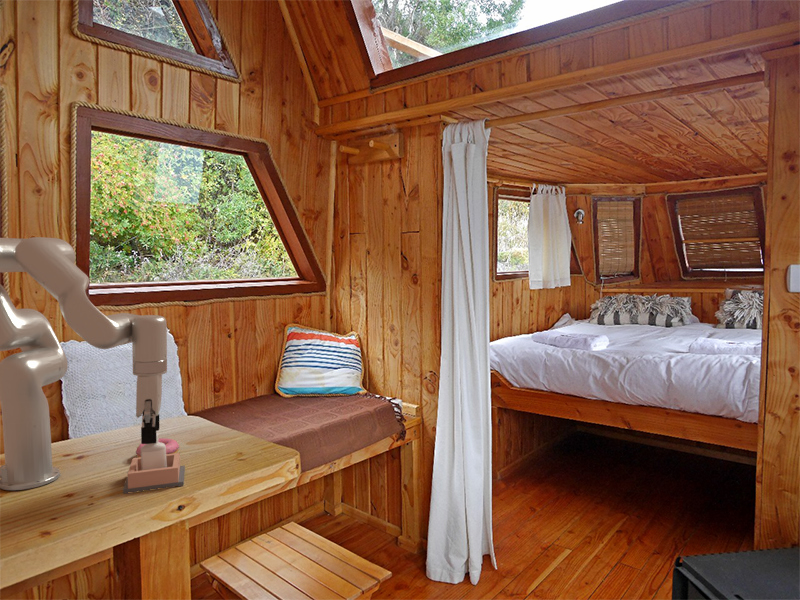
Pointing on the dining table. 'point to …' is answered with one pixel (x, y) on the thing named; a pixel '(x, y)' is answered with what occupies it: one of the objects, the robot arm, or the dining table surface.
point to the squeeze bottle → (153, 455)
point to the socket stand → (155, 475)
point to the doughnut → (169, 443)
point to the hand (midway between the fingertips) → (150, 436)
